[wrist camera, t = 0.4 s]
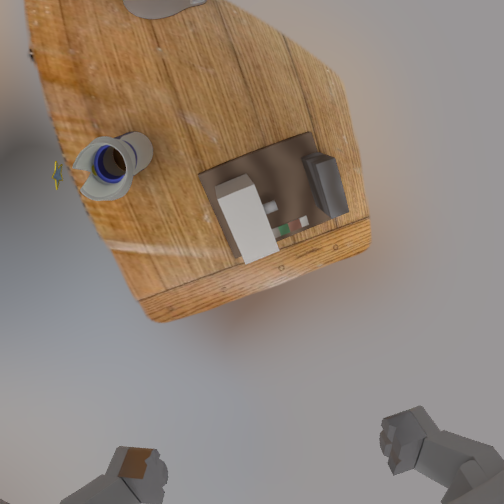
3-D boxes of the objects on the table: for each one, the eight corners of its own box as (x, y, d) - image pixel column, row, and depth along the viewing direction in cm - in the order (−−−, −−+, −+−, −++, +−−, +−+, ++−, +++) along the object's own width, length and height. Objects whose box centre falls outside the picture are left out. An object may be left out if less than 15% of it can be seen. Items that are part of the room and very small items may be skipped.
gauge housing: (243, 252, 60) (250, 274, 52) (214, 186, 53) (217, 199, 45) (284, 235, 59) (297, 255, 51) (259, 168, 53) (269, 178, 45)
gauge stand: (234, 255, 62) (240, 278, 53) (198, 173, 54) (197, 184, 45) (333, 214, 61) (353, 231, 53) (308, 131, 53) (327, 134, 45)
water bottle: (119, 182, 52) (67, 230, 29) (105, 140, 48) (40, 160, 26) (160, 168, 52) (128, 206, 30) (146, 124, 48) (103, 130, 26)
